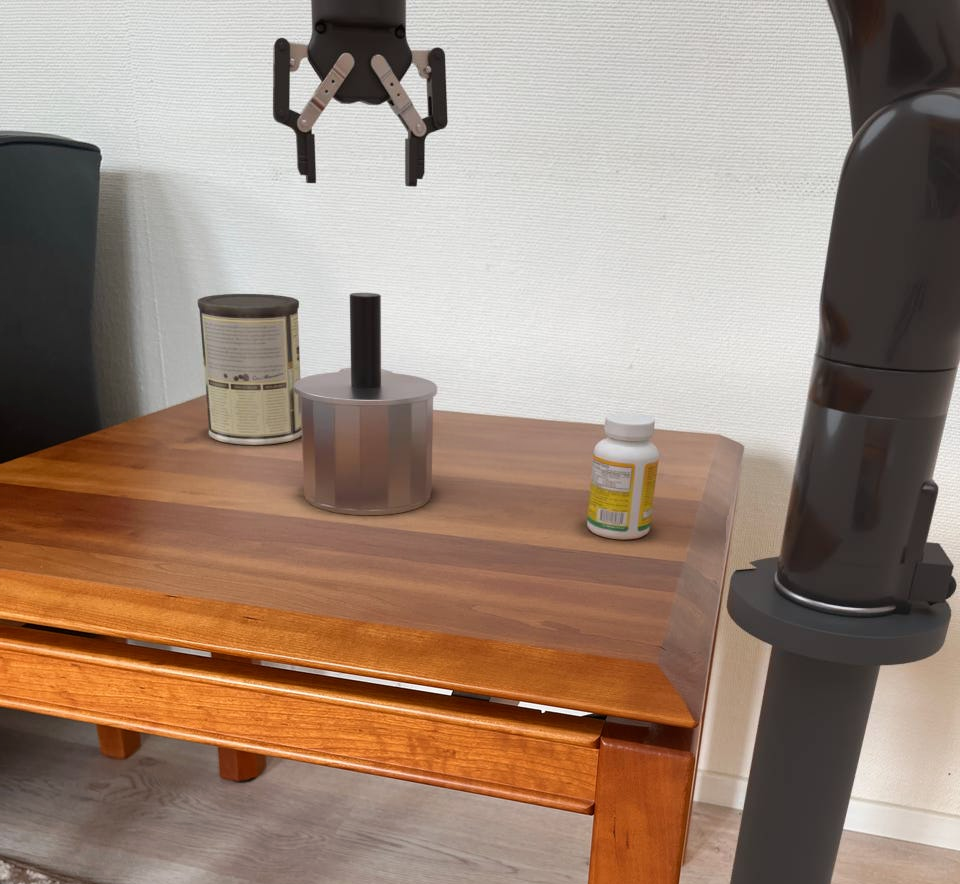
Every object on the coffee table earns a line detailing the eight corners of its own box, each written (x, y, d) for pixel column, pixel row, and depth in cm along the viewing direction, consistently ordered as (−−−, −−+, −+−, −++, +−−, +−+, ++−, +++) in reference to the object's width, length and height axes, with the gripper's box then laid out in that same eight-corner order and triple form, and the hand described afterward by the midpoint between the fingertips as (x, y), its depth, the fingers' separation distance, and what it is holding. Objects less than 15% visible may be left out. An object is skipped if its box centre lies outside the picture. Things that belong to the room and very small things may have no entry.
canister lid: (450, 389, 94) (452, 291, 90) (417, 418, 83) (419, 308, 79) (321, 379, 96) (318, 282, 92) (272, 406, 85) (267, 298, 81)
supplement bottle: (601, 542, 84) (612, 426, 80) (577, 522, 88) (586, 411, 84) (660, 538, 85) (674, 424, 81) (633, 518, 90) (645, 409, 86)
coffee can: (195, 427, 113) (184, 294, 107) (283, 419, 118) (277, 292, 112) (225, 449, 105) (215, 307, 99) (318, 440, 110) (314, 304, 104)
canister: (442, 484, 97) (444, 383, 93) (413, 520, 87) (414, 409, 83) (327, 473, 99) (325, 374, 95) (285, 508, 89) (281, 398, 85)
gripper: (267, -58, 75) (279, 183, 82) (456, -43, 78) (452, 188, 85) (263, -40, 82) (274, 181, 89) (438, -27, 85) (435, 186, 92)
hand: (361, 184), depth 87 cm, fingers open, 8 cm apart
